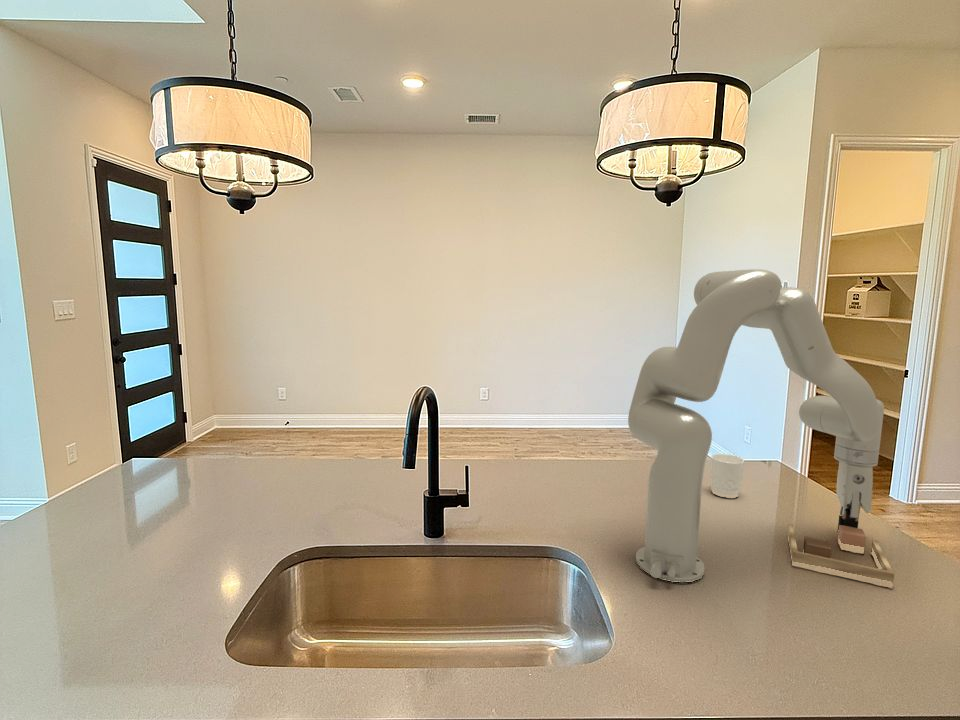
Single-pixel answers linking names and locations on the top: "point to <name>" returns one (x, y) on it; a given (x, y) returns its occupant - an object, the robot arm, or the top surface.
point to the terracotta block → (851, 536)
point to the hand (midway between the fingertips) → (846, 535)
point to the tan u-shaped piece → (848, 567)
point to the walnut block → (817, 547)
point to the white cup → (726, 473)
